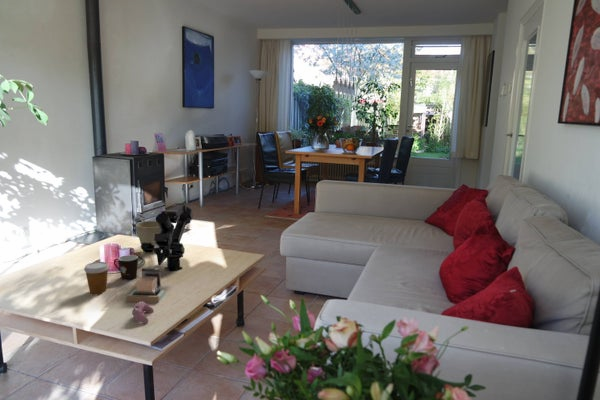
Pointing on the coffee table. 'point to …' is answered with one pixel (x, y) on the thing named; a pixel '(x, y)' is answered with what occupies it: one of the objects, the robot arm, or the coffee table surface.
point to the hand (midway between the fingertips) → (159, 265)
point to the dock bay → (145, 297)
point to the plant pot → (148, 232)
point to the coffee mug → (128, 266)
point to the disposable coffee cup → (97, 277)
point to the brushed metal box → (148, 282)
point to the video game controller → (141, 311)
